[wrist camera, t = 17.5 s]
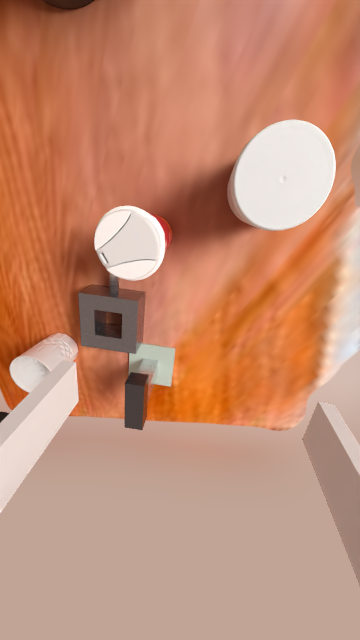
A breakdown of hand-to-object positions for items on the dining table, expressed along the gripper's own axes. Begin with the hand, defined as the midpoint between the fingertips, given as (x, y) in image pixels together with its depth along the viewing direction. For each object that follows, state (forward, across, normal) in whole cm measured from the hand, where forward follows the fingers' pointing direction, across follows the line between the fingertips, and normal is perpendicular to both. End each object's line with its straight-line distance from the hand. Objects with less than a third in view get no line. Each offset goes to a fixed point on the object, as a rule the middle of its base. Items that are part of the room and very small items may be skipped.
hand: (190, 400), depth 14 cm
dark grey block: (+31, -8, -20) cm, 38 cm away
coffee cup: (+32, -9, +5) cm, 34 cm away
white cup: (+32, -27, -19) cm, 46 cm away
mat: (+32, -8, -20) cm, 38 cm away
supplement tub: (+32, +6, +13) cm, 35 cm away
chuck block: (+32, -15, -6) cm, 36 cm away
